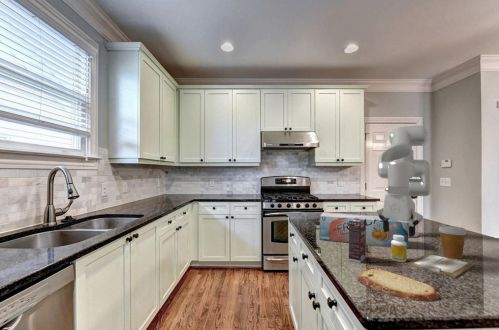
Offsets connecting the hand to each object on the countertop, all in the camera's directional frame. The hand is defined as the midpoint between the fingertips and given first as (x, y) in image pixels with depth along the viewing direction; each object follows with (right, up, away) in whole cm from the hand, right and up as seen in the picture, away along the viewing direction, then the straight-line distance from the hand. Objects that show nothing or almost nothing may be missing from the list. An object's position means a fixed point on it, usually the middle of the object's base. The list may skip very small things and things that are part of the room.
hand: (398, 233), depth 105 cm
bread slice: (-15, -11, -24) cm, 31 cm away
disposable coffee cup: (+26, -11, +5) cm, 29 cm away
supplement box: (-16, -11, +1) cm, 19 cm away
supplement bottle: (0, -11, 0) cm, 11 cm away
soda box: (-3, -12, +29) cm, 31 cm away
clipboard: (+13, -11, -6) cm, 18 cm away
